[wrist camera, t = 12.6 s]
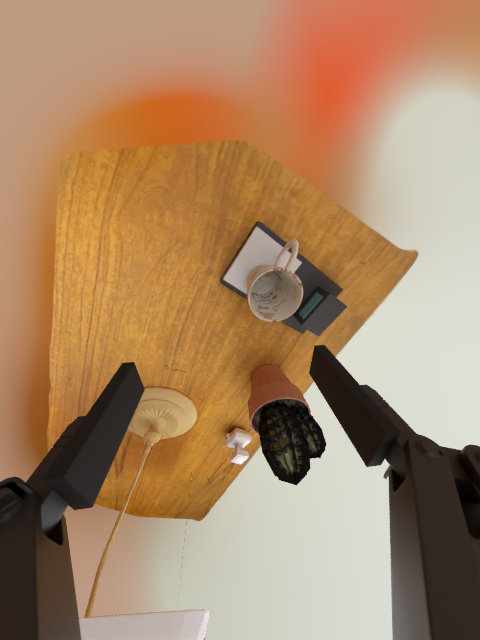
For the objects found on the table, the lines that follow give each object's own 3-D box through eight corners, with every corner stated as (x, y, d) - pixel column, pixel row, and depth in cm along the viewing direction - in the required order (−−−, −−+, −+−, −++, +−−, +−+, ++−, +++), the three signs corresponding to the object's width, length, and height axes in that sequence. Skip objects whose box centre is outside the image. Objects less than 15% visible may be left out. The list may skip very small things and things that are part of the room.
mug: (234, 291, 36) (239, 311, 28) (262, 226, 32) (279, 225, 23) (270, 305, 39) (285, 328, 30) (302, 246, 34) (331, 253, 25)
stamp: (253, 429, 63) (258, 457, 55) (243, 440, 65) (246, 468, 57) (231, 422, 60) (233, 450, 52) (221, 433, 62) (221, 462, 54)
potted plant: (258, 400, 56) (283, 513, 34) (233, 372, 50) (244, 488, 28) (298, 379, 54) (352, 486, 32) (277, 348, 48) (327, 453, 26)
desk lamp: (223, 403, 55) (231, 719, 20) (191, 445, 63) (155, 726, 28) (115, 368, 46) (-246, 857, 10) (92, 423, 54) (-156, 807, 18)
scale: (220, 279, 38) (220, 290, 32) (257, 221, 34) (265, 219, 28) (298, 329, 46) (312, 346, 39) (337, 286, 42) (358, 297, 35)
